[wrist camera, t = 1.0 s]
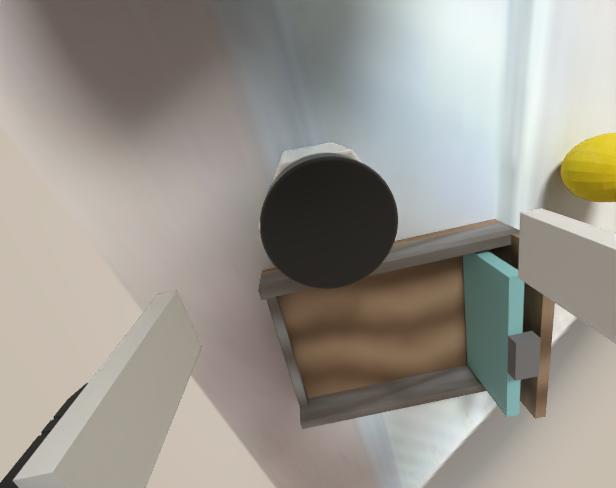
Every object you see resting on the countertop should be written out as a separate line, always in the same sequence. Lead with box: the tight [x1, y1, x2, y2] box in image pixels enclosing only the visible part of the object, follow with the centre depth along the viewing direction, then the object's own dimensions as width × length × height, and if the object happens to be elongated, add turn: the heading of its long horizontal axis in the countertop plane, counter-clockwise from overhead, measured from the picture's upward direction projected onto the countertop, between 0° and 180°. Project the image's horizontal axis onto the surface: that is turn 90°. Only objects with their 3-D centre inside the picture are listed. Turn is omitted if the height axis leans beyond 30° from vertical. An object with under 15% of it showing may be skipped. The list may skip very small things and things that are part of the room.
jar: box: [258, 142, 398, 289], centre depth 24 cm, size 9×8×12 cm
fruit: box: [561, 133, 616, 202], centre depth 26 cm, size 6×6×8 cm
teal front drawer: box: [259, 219, 555, 429], centre depth 31 cm, size 18×24×8 cm
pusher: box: [463, 250, 541, 417], centre depth 29 cm, size 15×2×8 cm, turn 13°
